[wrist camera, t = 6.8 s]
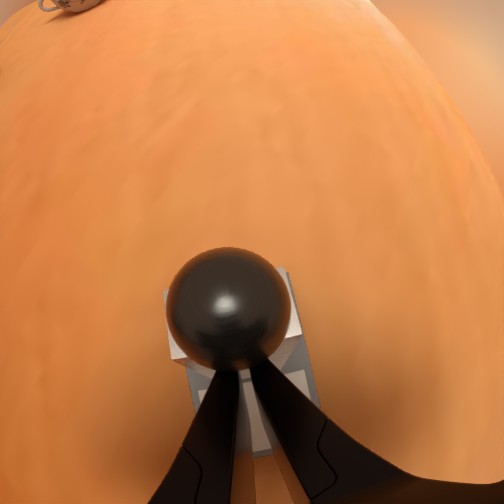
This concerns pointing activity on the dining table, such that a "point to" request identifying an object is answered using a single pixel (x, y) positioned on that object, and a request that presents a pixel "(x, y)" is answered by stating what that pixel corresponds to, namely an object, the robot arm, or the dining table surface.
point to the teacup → (70, 5)
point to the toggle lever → (230, 313)
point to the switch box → (293, 369)
